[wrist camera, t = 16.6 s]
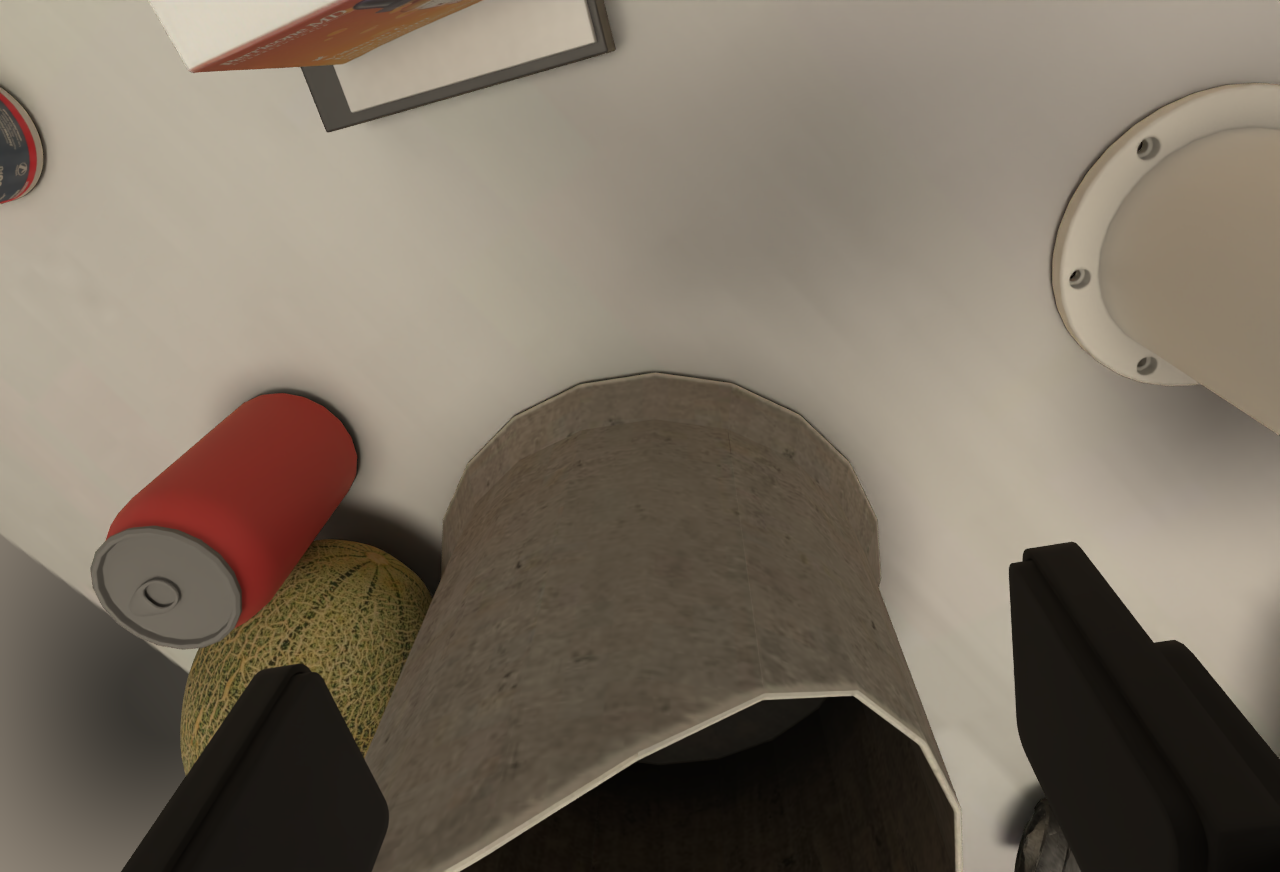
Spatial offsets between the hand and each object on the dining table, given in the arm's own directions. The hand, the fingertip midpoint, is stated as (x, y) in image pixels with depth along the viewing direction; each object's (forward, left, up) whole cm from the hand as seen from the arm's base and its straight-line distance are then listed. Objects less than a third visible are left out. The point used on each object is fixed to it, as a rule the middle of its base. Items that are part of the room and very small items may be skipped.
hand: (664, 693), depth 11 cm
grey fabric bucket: (+3, +21, -28) cm, 35 cm away
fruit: (+17, +11, -25) cm, 32 cm away
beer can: (+21, +6, -28) cm, 35 cm away
